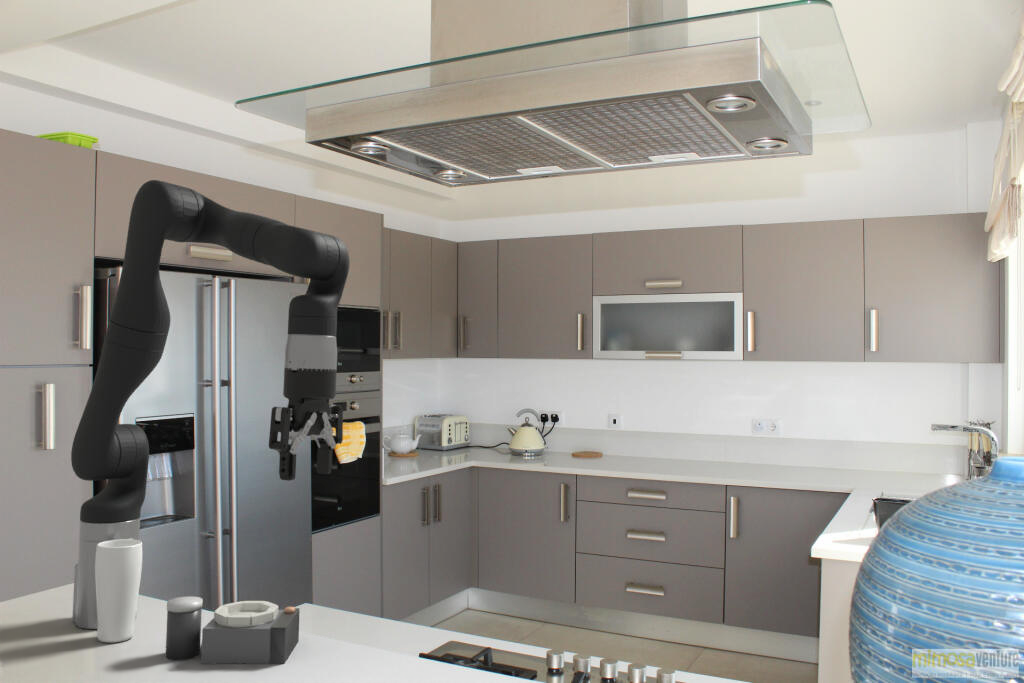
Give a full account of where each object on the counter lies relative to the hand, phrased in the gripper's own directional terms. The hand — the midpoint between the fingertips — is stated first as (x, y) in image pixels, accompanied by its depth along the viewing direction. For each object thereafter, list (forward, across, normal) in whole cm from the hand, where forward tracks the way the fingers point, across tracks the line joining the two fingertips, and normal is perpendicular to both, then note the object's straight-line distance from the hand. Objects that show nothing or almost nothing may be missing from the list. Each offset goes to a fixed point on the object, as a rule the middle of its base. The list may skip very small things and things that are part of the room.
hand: (306, 476), depth 119 cm
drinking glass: (+28, +3, -33) cm, 44 cm away
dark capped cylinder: (+28, +4, -18) cm, 34 cm away
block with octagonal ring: (+28, -2, -10) cm, 29 cm away
